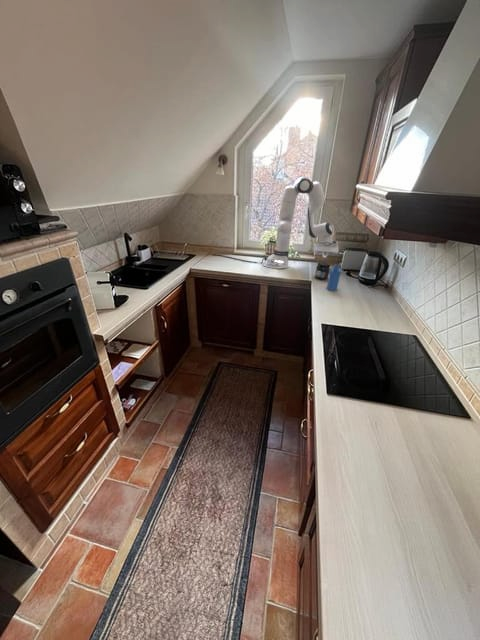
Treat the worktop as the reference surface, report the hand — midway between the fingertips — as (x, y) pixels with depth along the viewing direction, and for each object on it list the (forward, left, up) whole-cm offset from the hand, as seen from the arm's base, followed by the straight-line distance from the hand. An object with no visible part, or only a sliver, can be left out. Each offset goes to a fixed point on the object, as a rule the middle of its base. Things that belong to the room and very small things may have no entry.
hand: (324, 257), depth 212 cm
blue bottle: (+8, -39, -12) cm, 41 cm away
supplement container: (0, -18, -12) cm, 21 cm away
